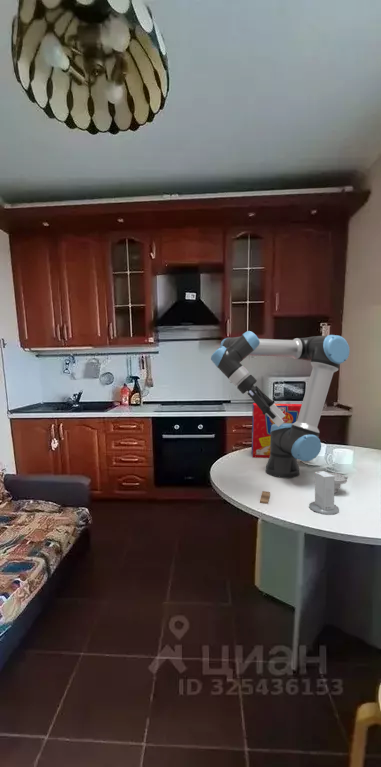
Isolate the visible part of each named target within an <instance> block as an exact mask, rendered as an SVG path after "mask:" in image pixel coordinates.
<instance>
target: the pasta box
mask: <svg viewBox="0 0 381 767" xmlns="http://www.w3.org/2000/svg"><path fill="white" fill-rule="evenodd" d="M274 404H275V405H276V406H277V407H278V408H279V409H280V410H281V411H282V412H283V414H284V415H285V417H283V418H282V420H283V421H284V422H283V423H295V422H296V421H297V419H298V416H299V412H300V409H301V406H302V403H274ZM251 417H252V421H251V457H252V458H256V459H269V457H270V441H271V433H270V431H271V426H272V425H273V424H275V423H274V422H273V421H272V420H271V419H270V418H269V417H268V416H267V415H266V414H265V415H263V412H262V411H261V409H260V408H259V407H258V406H257V404H256V403H255V402H253V403H252V414H251Z"/></svg>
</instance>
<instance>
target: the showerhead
mask: <svg viewBox="0 0 381 767" xmlns="http://www.w3.org/2000/svg"><path fill="white" fill-rule="evenodd" d="M327 473H329V474H331V475H333V476H334V494H336V493H337V492H338V491H337V490H339V489H341V485H343V484H346V483H347V482H348V479H349V477H348V476H346V475H343V474H341V473H338V472H337V473H336V472H327Z"/></svg>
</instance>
